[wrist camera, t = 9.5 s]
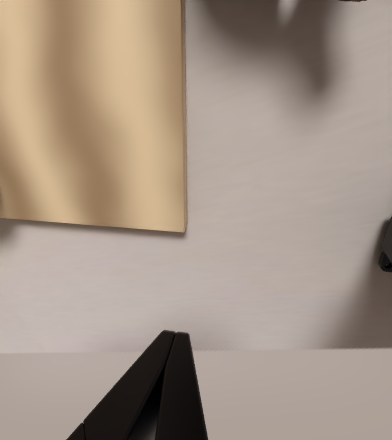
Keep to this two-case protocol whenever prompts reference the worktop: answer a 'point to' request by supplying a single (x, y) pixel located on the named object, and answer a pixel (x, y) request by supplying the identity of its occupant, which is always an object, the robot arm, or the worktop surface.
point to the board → (94, 112)
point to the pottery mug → (353, 0)
